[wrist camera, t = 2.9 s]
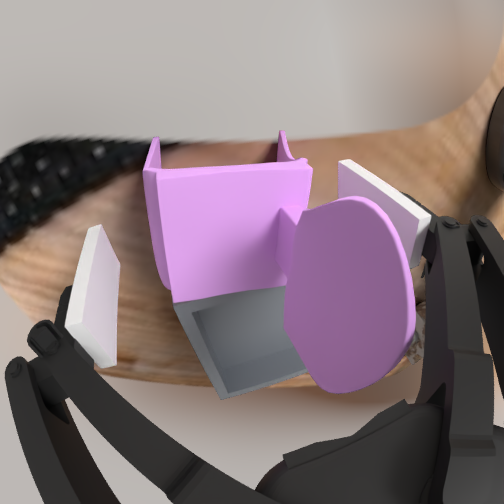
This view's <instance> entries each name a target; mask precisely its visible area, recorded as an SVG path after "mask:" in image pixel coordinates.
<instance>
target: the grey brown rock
mask: <svg viewBox="0 0 504 504" xmlns="http://www.w3.org/2000/svg"><path fill="white" fill-rule="evenodd" d="M415 309H416V324H415V333H414V337H413V341H412V343H411V345H410V347H409V349H408V350H407V352H406V354H405V355H406V356H407V358H408V359H409V361H410V362H411V364H415V363H416V362H418V361H419V360H420V359H421V358H423V357H424V342H425V315H426V304H425V301H424V302H422V303H420V304H419V305H417V306H416V307H415ZM405 355H404V356H405Z"/></svg>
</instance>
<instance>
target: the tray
mask: <svg viewBox="0 0 504 504" xmlns="http://www.w3.org/2000/svg"><path fill="white" fill-rule="evenodd" d="M285 289H286V285H285V286H279V287H273V288H265V289H256V290H247V291H241V292H234V293H228V294H222V295H217V296H213V297H208V298H203V299H198V300H191V301H184V302H177V303H173V297H172V303H173V308H174V310H175V312H176V314H177V316H178V319H179V321H180V323H181V325H182V327H183V329H184V331H185V333H186V335H187V337H188V339H189V341H190V343H191V345H192V347H193V349H194V351H195V353H196V355H197V357H198V359H199V360H200V362H201V364H202V366H203V368H204V370H205V372H206V374H207V376H208V377H209V379H210V381H211V383H212V385H213V386H214V388H215V390H216V392H217V394H218V395H219V397H220V399H221V400H223V399H226V398H230V397H234V396H237V395H241V394H244V393H247V392H251V391H254V390H257V389H261V388H264V387H267V386H270V385H273V384H276V383H279V382H282V381H285V380H288V379H291V378H293V377H296V376H299V375H302V374H304V373H307V372H308V370H307V368H306V367H305V365H304V363H303V361H302V360H301V358H300V356H299V354H298V352H297V351H296V349H295V347H294V345H293V344H292V342H291V340H290V338H289V337H288V335H287V333H286V332H285V330H284V327H283V325H284V300H285ZM171 295H172V292H171Z"/></svg>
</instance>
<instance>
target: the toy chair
mask: <svg viewBox="0 0 504 504" xmlns="http://www.w3.org/2000/svg"><path fill="white" fill-rule="evenodd" d="M312 173H313V168H311V167H310V166H309V165H308V164H307V159H305V158H298V159H294V158H293V157H292V156H291V154H290V151H289V148H288V145H287V140H286V135H285V131H279V139H278V152H277V162H273V163H260V164H248V165H233V166H215V167H195V168H182V169H161V156H160V142H159V137H153V140H152V143H151V146H150V149H149V152H148V156H147V159H146V162H145V166H144V169H143V181H144V190H145V198H146V205H147V212H148V219H149V226H150V233H151V239H152V245H153V251H154V256H155V261H156V265H157V269H158V273H159V276H160V278H161V281H162V283H163V284H164V286H165V287H166V288H167V289H169V290H171V292H172V297H173V303H177V302H184V301H191V300H198V299H203V298H208V297H213V296H217V295H222V294H228V293H234V292H241V291H247V290H256V289H265V288H273V287H279V286H285V285H286V289H285V300H284V325H283V327H284V330H285V332H286V333H287V335H288V337H289V338H290V340H291V342H292V344H293V345H294V347H295V349H296V351H297V352H298V354H299V356H300V358H301V360H302V361H303V363H304V365H305V367H306V368H307V370H308V372H309V374H310V375H311V377H312V378H313V380H314V381H315V382H316V383H317V384H318V385H319V386H320V387H321V388H322V389H323V390H325V391H327V392H329V393H336V394H341V393H350V392H353V391H357V390H360V389H363V388H365V387H367V386H370V385H371V384H374V383H375V382H377V381H378V380H380V379H381V378H383V377H384V376H385V375H386V374H388V373H389V372H390V371H391V370H392V369H393V368H394V367H395V366H396V365H397V364H398V363H399V362H400V361H401V359H402V358H403V356H404V355H405V354H406V352H407V350H408V349H409V347H410V345H411V343H412V341H413V337H414V333H415V324H416V309H415V296H414V289H413V283H412V277H411V273H410V269H409V265H408V261H407V257H406V254H405V251H404V248H403V245H402V243H401V240H400V237H399V235H398V232H397V231H396V229H395V227H394V226H393V224H392V222H391V220H390V219H389V217H388V215H387V214H386V213H385V212H384V211H383V210H382V209H381V208H380V207H379V206H378V205H377V204H376V203H374V202H373V201H371V200H369V199H367V198H365V197H360V196H350V197H344V198H341V199H338V200H335V201H332V202H329V203H326V204H324V205H321V206H318V207H316V208H313V209H307V205H308V200H309V194H310V187H311V180H312Z"/></svg>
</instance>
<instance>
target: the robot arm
mask: <svg viewBox="0 0 504 504" xmlns="http://www.w3.org/2000/svg"><path fill="white" fill-rule="evenodd" d="M486 165H487V172H488V176H489V179H490V181H491V183H492V184H493V185H494V186H495V187H497V188H498V189H500V190H501V191H503V192H504V89H503V90H502V92H501V93H500V95H499V97H498V99H497V102H496V104H495V107H494V110H493V113H492V117H491V121H490V126H489V131H488V137H487V147H486ZM350 196H360V197H365V198H367V199H369V200H371V201H373V202H374V203H376V204H377V205H378V206H379V207H380V208H381V209H382V210H383V211H384V212H385V213H386V214H387V215H388V217H389V219H390V220H391V222H392V224H393V226H394V227H395V229H396V231H397V232H398V235H399V237H400V240H401V243H402V245H403V248H404V251H405V254H406V257H407V261H408V265H409V269H412V268H414V267H416V266H419V263H420V260H421V256H422V255H423V256H424V257H425V258H426V259H427V260H426V263H425V266H424V269H423V273H422V276H421V278H423V277H424V275H425V287H426V315H425V342H424V357H423V369H422V378H421V386H420V391H419V393H418V396H417V398H416V401H415V403H414V404H407V402H406V401H405V399H403V400H402V401H400V402H398V403H397V404H395V405H393V406H391V407H389V408H388V409H386V410H384V411H382V412H380V413H378V414H377V415H376V416H375V417H374V418H373V419H372V420H370V421H369V422H368V423H367V424H366V425H365V426H363V427H362V428H361V429H360V430H359V431H357V432H356V433H355V434H354V435H352V436H349V437H344V438H339V439H334V440H328V441H323V442H316V443H313V444H311V445H308V446H306V447H303V448H300V449H298V450H295V451H292V452H289V453H287V454H283V459H284V460H283V461H281V462H280V463H278V464H277V465H276V466H274V467H273V468H272V469H270V470H269V471H268V472H267V474H265V475H264V477H263V478H262V479H261V481H260V482H259V484H258V485H257V487H256V489H255V490H253V489H251V488H249V487H247V486H245V485H244V484H242V483H240V482H238V481H237V480H235V479H233V478H232V477H230V476H228V475H226V474H225V473H223V472H222V471H220V470H218V469H217V468H215V467H214V466H212V465H210V464H209V463H207V462H206V461H204V460H203V459H201V458H200V457H198V456H196V455H195V454H194V453H192V452H191V451H189V450H188V449H186V448H185V447H184V446H182V445H181V444H179V443H178V442H177V441H175V440H174V439H173V438H171V437H170V436H169V435H167V434H166V433H165V432H163V431H162V430H161V429H159V428H158V427H157V426H156V425H154V424H153V423H152V422H151V421H150V420H148V419H147V418H146V417H145V416H144V415H142V414H141V413H140V412H139V411H138V410H137V409H135V408H134V407H133V406H132V405H131V404H130V403H129V402H127V401H126V400H125V399H124V398H123V397H122V396H121V395H120V394H119V393H117V392H116V391H115V390H114V389H113V388H112V387H111V386H110V385H109V384H108V383H107V382H106V381H105V380H104V379H103V378H102V377H101V376H100V375H99V374H98V373H97V372H96V371H95V370H94V362H95V363H96V364H97V365H98V366H99V367H100V368H101V369H102V368H106V367H111V366H115V365H117V308H118V290H119V276H120V263H119V261H118V259H117V257H116V255H115V253H114V251H113V248H112V246H111V244H110V242H109V240H108V238H107V236H106V233H105V231H104V229H103V227H102V224H100V225H97V226H94V227H91V228H89V229H88V232H87V235H86V238H85V242H84V245H83V249H82V252H81V256H80V259H79V263H78V267H77V271H76V275H75V279H74V283H73V285H71V286H68V287H66V288H65V290H64V291H63V293H62V295H61V297H60V301H59V306H58V309H57V314H56V318H55V323H54V324H53V323H52V322H51V321H50V320H42V321H40V322H38V323H37V324H36V325H34V326H33V328H32V329H31V330H30V333H29V334H28V338H27V342H28V345H29V346H30V347H31V349H32V350H33V351H34V352H35V353H36V354H37V355H38V357H36V358H34V359H33V360H31V361H29V362H27V361H26V360H25V359H24V358H23V357H16V358H14V359H12V361H10V362H9V364H8V365H7V367H6V371H5V381H6V386H7V392H8V397H9V401H10V406H11V410H12V414H13V418H14V422H15V425H16V429H17V432H18V436H19V439H20V442H21V446H22V449H23V452H24V455H25V457H26V460H27V463H28V465H29V468H30V471H31V474H32V476H33V479H34V481H35V484H36V486H37V488H38V490H39V493H40V495H41V497H42V499H43V502H44V504H121V503H120V502H119V501H118V499H117V498H116V496H115V495H114V493H113V491H112V490H111V488H110V487H109V485H108V483H107V482H106V480H105V479H104V477H103V475H102V474H101V472H100V470H99V469H98V467H97V465H96V463H95V462H94V460H93V458H92V456H91V454H90V452H89V450H88V449H87V447H86V445H85V443H84V441H83V439H82V437H81V435H80V433H79V431H78V429H77V426H76V424H75V422H74V420H73V418H72V416H71V413H70V411H69V409H68V407H67V404H66V402H65V399H67V398H68V397H70V399H71V400H72V401H73V402H74V404H75V405H76V406H77V408H78V409H79V410H80V411H81V412H82V413H83V415H84V416H85V417H86V418H87V419H88V420H89V422H90V423H91V424H92V425H93V426H94V427H95V428H96V429H97V430H98V431H99V433H100V434H101V435H102V436H103V437H104V438H105V439H106V440H107V441H108V442H109V443H110V444H111V445H112V446H113V447H114V448H115V449H116V450H117V451H118V452H119V453H120V454H121V455H122V456H123V457H124V458H125V459H126V460H127V461H129V463H131V464H132V465H133V466H134V467H135V468H136V469H137V470H138V471H140V472H141V473H142V474H143V475H144V476H145V477H146V478H148V479H149V480H150V481H151V482H152V483H154V484H155V485H156V486H157V487H158V488H160V489H161V490H162V491H163V492H164V493H165V494H166V496H167V498H168V499H169V500H170V501H171V502H172V503H173V504H504V428H503V427H500V426H496V425H493V419H494V417H493V416H494V372H493V361H494V365H495V369H496V373H497V377H498V381H499V385H500V388H501V392H502V396H503V399H504V240H503V238H502V237H501V235H500V234H499V232H498V231H497V229H496V228H495V227H494V225H493V224H492V222H491V221H490V220H488V219H487V218H486V217H484V216H481V215H473V216H472V217H471V220H470V223H469V224H464V225H461V224H460V223H459V222H458V221H457V220H455V219H454V218H451V217H448V216H442V217H438V216H436V215H435V214H434V213H433V212H431V211H430V210H429V209H427V208H426V207H425V206H423V205H421V203H419V202H418V201H416V200H415V199H414V198H412V197H411V196H409V195H407V194H405V193H403V192H400V191H397V190H396V189H394V188H393V187H392V186H390V185H389V184H387V183H386V182H384V181H383V180H381V179H380V178H378V177H377V176H375V175H374V174H372V173H371V172H369V171H368V170H366V169H364V168H363V167H361V166H360V165H358V164H357V163H355V162H353V161H352V160H350V159H347V160H342V161H338V199H341V198H344V197H350ZM483 255H484V264H483V262H482V257H483ZM481 323H482V326H483V329H484V332H485V335H486V338H487V341H488V344H489V347H490V351H491V354H492V356H491V355H490V354H485V353H484V351H483V338H482V328H481ZM492 358H493V360H492Z"/></svg>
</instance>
